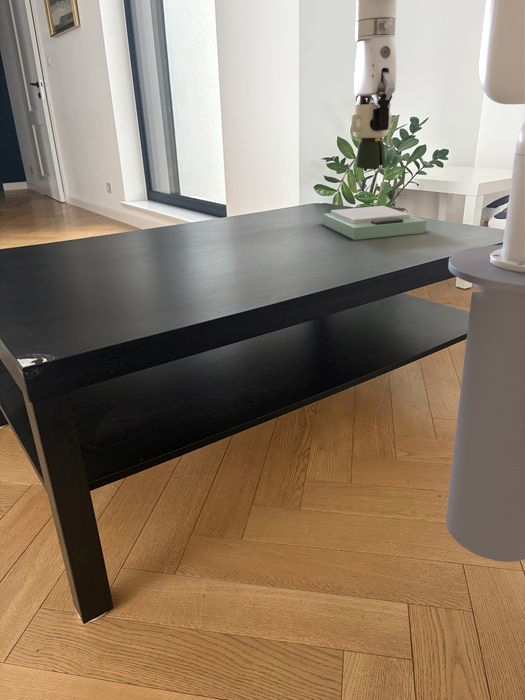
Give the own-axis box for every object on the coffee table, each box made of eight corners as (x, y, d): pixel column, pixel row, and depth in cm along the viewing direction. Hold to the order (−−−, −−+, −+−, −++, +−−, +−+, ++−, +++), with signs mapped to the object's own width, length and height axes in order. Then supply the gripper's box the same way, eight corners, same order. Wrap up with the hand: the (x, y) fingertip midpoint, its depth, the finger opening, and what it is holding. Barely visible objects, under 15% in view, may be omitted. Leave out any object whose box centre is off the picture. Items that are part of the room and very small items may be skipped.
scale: (425, 232, 115) (426, 216, 113) (354, 240, 111) (354, 223, 110) (386, 218, 131) (387, 204, 129) (323, 224, 127) (323, 210, 126)
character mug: (363, 174, 112) (365, 104, 107) (339, 172, 117) (340, 105, 112) (400, 169, 117) (404, 102, 112) (376, 167, 123) (378, 103, 118)
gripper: (415, 25, 100) (408, 129, 107) (373, 37, 115) (370, 128, 123) (377, 25, 98) (373, 131, 105) (340, 38, 114) (339, 130, 121)
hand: (371, 129), depth 114 cm, fingers closed on character mug, 7 cm apart
